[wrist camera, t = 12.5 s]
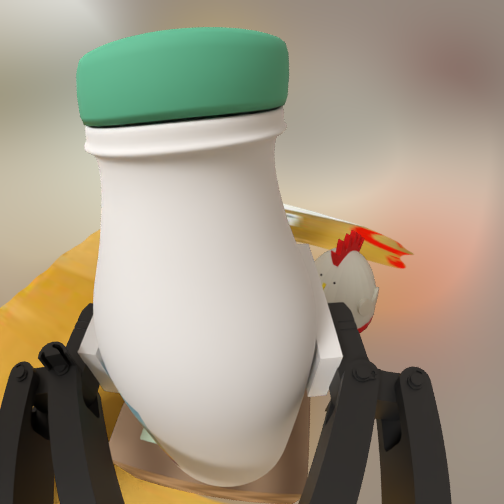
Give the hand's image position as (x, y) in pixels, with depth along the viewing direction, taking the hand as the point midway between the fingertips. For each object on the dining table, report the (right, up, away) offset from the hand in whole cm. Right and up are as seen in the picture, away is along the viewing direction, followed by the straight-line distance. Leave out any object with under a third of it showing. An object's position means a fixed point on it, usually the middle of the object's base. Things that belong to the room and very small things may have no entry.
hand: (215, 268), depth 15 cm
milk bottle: (0, -11, +2) cm, 11 cm away
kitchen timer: (+16, -9, +35) cm, 40 cm away
